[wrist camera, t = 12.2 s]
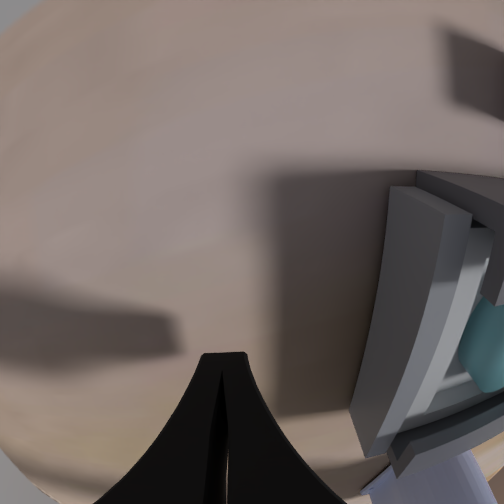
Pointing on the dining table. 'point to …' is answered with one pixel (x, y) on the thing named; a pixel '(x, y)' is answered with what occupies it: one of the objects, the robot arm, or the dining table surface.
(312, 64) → the dining table surface
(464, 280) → the tray
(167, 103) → the dining table surface
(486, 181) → the grey drawer housing
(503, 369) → the teal rounded dome
